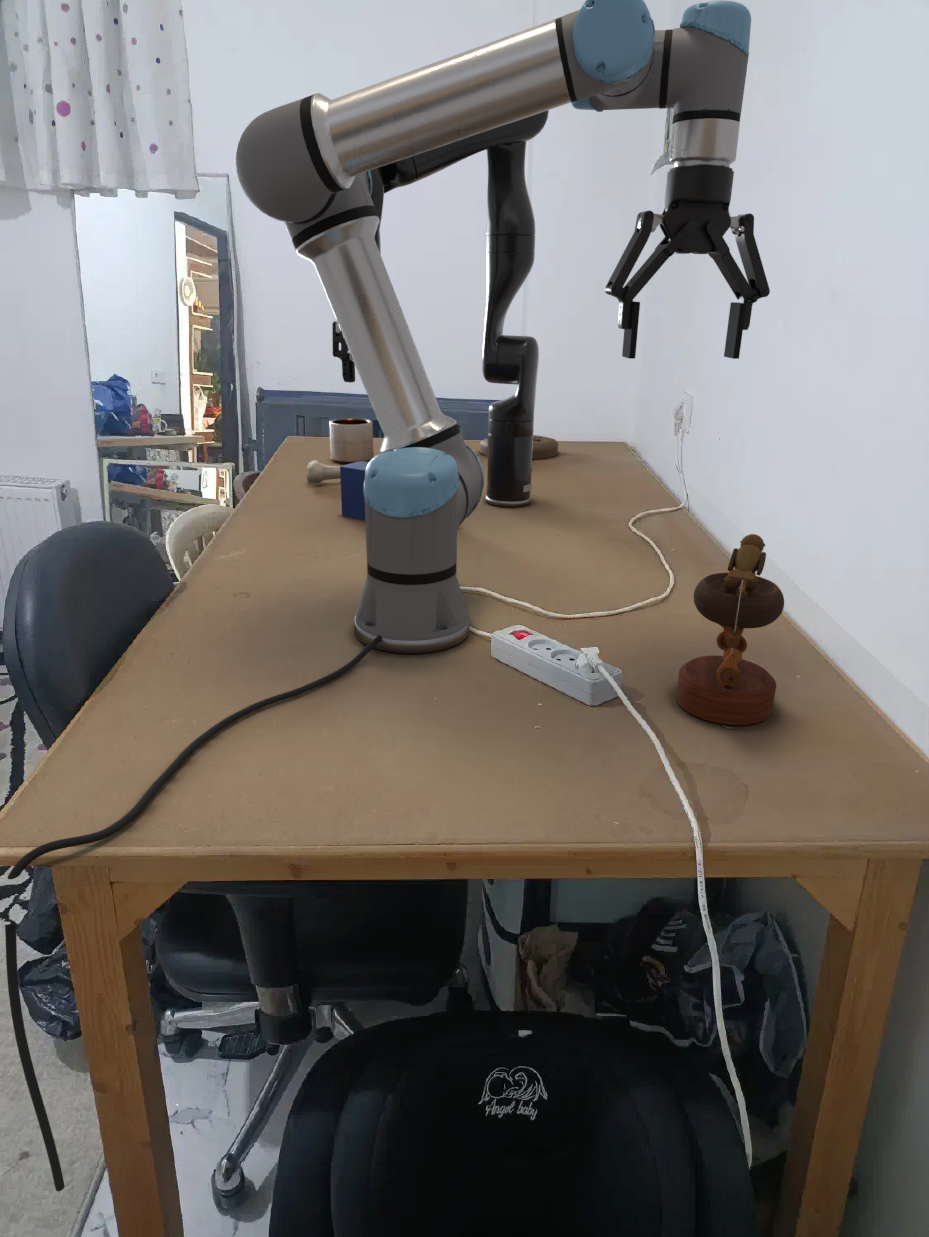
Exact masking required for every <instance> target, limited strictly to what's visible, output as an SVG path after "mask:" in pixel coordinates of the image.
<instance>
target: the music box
mask: <svg viewBox="0 0 929 1237" xmlns="http://www.w3.org/2000/svg"><path fill="white" fill-rule="evenodd" d="M741 539H742V540H740V541H739V543H740V544H739V545H740V547H739V548H737V547H735V548H733V550H732V552H731V556H730V559H729V562H728V565H727V571H728V572H717V573H716V572H715V573H712V574H708V575H707V576H705V577H703V578H702V579H701V580H700V581H699V582H698V583H697V584H696V586H695V588H694V592H693V603H694V606H695V608H696V610H697V611H698V613H699V614H700V615H701V616H702V617H703V618H705V619H706V620H708V621H710V622H712V623H715V624H717V625H719V626H720V627H722V628H723V630H722V631H721V632H719V633H718V635H717V637H716V645H717V647H718V649H720V650H722V651H723V653H722V655H702V656H698V657H694V658H693V659H690V660H689V661H687V662H685V663H684V664H682V666H680V668H679V670H678V678H677V685H676V694H675V699H676V702H677V703H678V705H679V706H680V707H681V708H682V709H683V710H684V711H686V712H687V713H689V714H691V715H692V716H694V717H696V718H699V719H701V720H705V721H707V722H712V723H716V724H721V725H729V726H746V725H748V726H749V725H753V724H758V723H760V722H763V721H765V720H767V719H769V717H770V716H771V715H772V713H773V708H774V702H775V697H776V692H777V681H776V680H775V678H774V677H773V676H772V674H770V672H768V670H766V668H764V667H763V666H760V665H759V664H757V663H755V662H752V661H750V660H746V659H743V653H745V652H746V651H747V648H748V641H747V639H746V638H745V637H744V636H743V633H744V630H745V629H758V628H759V629H760V628H763V627H766V626H769V625H771V624H772V623H775V621H777V620H778V618H779V617H780V616H781V615H782V613H783V610H784V608H785V607H784V606H785V597H784V594H783V591H782V590H781V588H780V587H779V586H778V585H777V584H776V583H775V582H773V581H771V580H770V579H767V578H764V577H761V575H762V573H763V571H764V568H765V564H766V560H767V552H766V551H764V549H765V547H766V543H765V542H764V539H763V538H762V537H761V536H760V535H758V534H755V533H750V534H747V535H745V536H744V537H742V538H741Z"/></svg>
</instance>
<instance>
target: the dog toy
mask: <svg viewBox="0 0 929 1237" xmlns="http://www.w3.org/2000/svg"><path fill="white" fill-rule="evenodd" d="M340 466H341V465H329V464H328V465H327V464H324V463H322V462H320V461H319V460H317V459H314V460H311V461H310V462H308V464H307V466H306V474H305V477H306V482H307V483H309V484H319V483H321V482H324V481H328V480H329V481H330V480H339V479H340ZM340 480H341V479H340Z"/></svg>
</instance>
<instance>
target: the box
mask: <svg viewBox="0 0 929 1237" xmlns="http://www.w3.org/2000/svg"><path fill="white" fill-rule="evenodd" d="M369 462H370V461H368V462H364V461H359V462H355V463H346V464H344V465H339V466H340V499H341V500H340V501H341V502H340V503H341V516H342V517H346V518H350V519H354V520H359V521H364V522H365V497H364V494H363V488H364V481H365V470H366V467H367V465H368V463H369Z"/></svg>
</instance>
